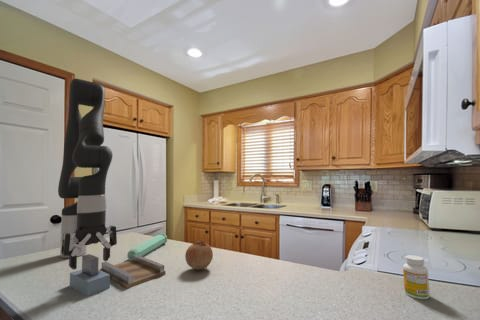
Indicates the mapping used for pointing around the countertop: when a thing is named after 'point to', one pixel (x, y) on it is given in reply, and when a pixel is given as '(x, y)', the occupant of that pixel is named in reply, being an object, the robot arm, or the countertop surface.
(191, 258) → the onion
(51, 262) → the countertop surface
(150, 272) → the tray
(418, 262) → the supplement bottle
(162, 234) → the mint green cylinder
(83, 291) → the blue block with handle
